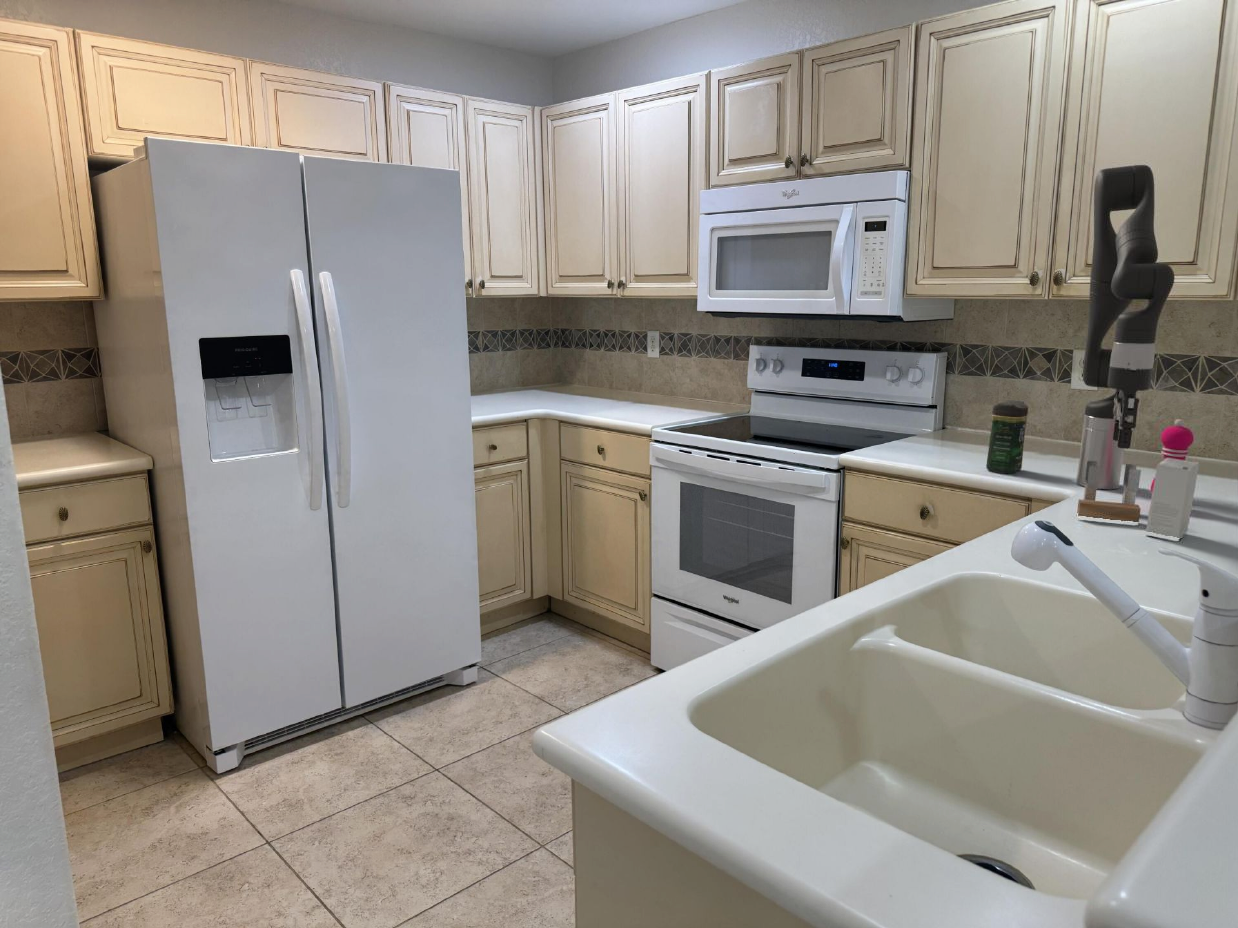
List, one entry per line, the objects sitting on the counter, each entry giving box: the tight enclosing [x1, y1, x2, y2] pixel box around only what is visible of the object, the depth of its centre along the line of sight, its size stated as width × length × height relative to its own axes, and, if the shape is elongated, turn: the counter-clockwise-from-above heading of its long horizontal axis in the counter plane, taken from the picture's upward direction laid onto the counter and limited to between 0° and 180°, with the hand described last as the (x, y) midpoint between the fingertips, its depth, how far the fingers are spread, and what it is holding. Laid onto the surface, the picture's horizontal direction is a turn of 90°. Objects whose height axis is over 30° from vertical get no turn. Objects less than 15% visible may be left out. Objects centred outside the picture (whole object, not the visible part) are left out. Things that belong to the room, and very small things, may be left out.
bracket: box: [1082, 460, 1142, 504], centre depth 187 cm, size 7×10×10 cm
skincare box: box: [1145, 458, 1200, 538], centre depth 169 cm, size 8×6×15 cm
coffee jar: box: [985, 400, 1029, 474], centre depth 226 cm, size 10×8×19 cm
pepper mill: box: [1150, 418, 1195, 493], centre depth 189 cm, size 7×7×20 cm
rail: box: [1076, 498, 1141, 523], centre depth 181 cm, size 4×11×4 cm, turn 67°
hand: (1120, 444), depth 177 cm, fingers open, 8 cm apart
